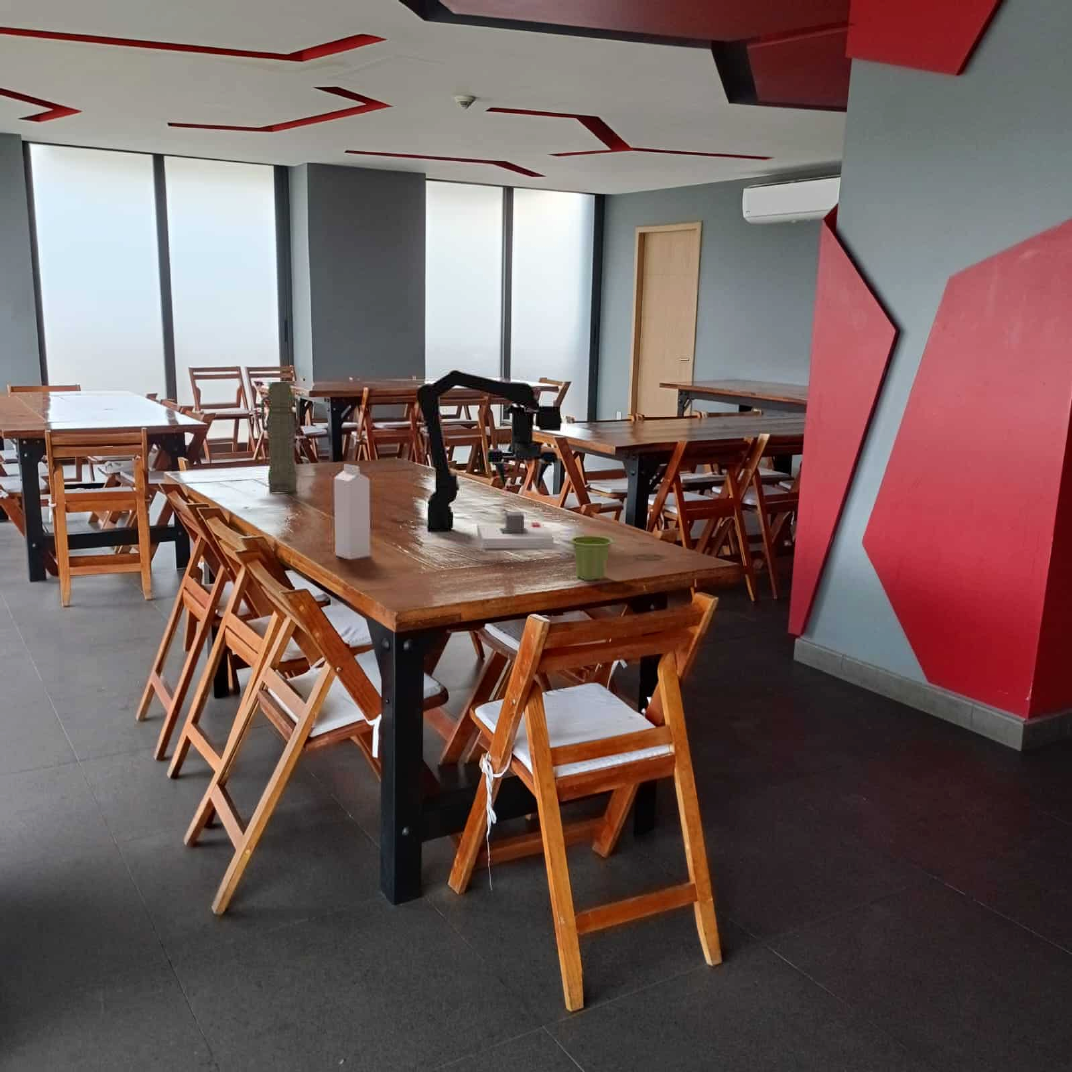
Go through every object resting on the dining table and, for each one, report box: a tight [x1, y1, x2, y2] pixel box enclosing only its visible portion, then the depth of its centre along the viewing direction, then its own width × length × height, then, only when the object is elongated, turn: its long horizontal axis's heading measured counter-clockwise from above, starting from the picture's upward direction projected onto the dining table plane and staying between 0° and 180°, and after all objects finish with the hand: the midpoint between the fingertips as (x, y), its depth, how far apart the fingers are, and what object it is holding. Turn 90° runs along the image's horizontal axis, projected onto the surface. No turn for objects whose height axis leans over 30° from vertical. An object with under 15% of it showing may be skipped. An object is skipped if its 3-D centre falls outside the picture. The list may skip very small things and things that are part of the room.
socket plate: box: [476, 522, 554, 549], centre depth 259 cm, size 18×18×3 cm
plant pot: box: [570, 535, 613, 581], centre depth 224 cm, size 9×9×9 cm
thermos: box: [260, 381, 301, 493], centre depth 318 cm, size 9×12×35 cm
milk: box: [333, 463, 371, 560], centre depth 236 cm, size 6×6×22 cm
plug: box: [504, 511, 525, 534], centre depth 259 cm, size 4×4×7 cm
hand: (520, 487), depth 269 cm, fingers open, 9 cm apart
